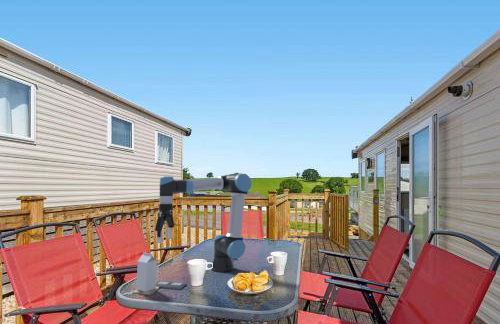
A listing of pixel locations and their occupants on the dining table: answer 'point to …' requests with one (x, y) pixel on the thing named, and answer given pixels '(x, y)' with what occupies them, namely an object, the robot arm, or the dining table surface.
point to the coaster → (145, 292)
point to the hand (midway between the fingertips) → (164, 240)
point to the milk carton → (146, 272)
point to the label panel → (170, 285)
